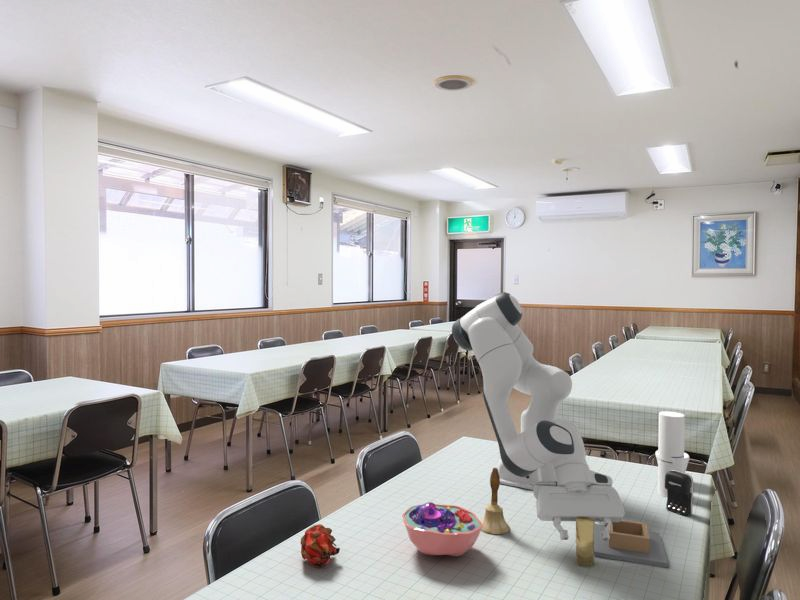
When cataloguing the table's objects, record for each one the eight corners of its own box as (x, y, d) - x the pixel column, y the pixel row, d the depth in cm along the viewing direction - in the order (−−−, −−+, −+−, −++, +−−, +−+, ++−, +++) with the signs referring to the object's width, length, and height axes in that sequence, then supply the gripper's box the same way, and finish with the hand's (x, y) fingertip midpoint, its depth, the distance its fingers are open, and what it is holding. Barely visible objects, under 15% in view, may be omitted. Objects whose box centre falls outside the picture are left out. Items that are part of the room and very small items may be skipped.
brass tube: (575, 565, 122) (575, 522, 122) (575, 557, 126) (575, 515, 126) (594, 568, 121) (594, 524, 121) (593, 559, 125) (593, 517, 125)
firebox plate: (593, 555, 127) (593, 537, 127) (592, 527, 142) (593, 510, 142) (667, 567, 121) (668, 548, 121) (658, 536, 137) (659, 519, 136)
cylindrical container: (686, 499, 160) (688, 417, 159) (661, 497, 162) (662, 416, 161) (679, 490, 167) (680, 411, 166) (655, 488, 169) (656, 410, 168)
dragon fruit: (313, 553, 131) (328, 585, 120) (286, 540, 127) (299, 572, 117) (334, 524, 132) (350, 552, 121) (307, 510, 128) (322, 539, 118)
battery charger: (662, 509, 153) (662, 470, 153) (669, 506, 155) (670, 467, 155) (686, 518, 147) (687, 477, 147) (693, 515, 149) (694, 475, 149)
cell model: (464, 579, 116) (464, 529, 116) (388, 555, 127) (388, 508, 127) (493, 547, 131) (493, 502, 131) (422, 528, 141) (422, 486, 141)
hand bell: (490, 518, 148) (490, 461, 147) (515, 527, 142) (516, 468, 141) (472, 527, 142) (472, 468, 141) (497, 538, 136) (498, 476, 135)
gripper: (533, 475, 131) (542, 533, 121) (618, 477, 130) (633, 535, 120) (529, 486, 135) (538, 543, 126) (611, 488, 134) (625, 545, 125)
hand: (585, 539), depth 123 cm, fingers open, 8 cm apart
